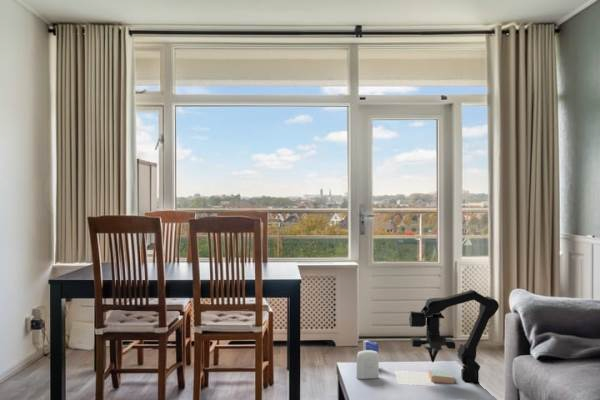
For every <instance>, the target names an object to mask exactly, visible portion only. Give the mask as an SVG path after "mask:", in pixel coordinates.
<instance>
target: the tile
mask: <svg viewBox="0 0 600 400" xmlns="http://www.w3.org/2000/svg"><path fill="white" fill-rule="evenodd" d="M428 372H429V373H428V376H429V378H430V380H431V382H434V383H446V384H447V383H448V384H455V377H454V375H453V374H452V372H450V371H438V370H430V369H429V370H428Z"/></svg>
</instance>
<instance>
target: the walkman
mask: <svg viewBox="0 0 600 400" xmlns="http://www.w3.org/2000/svg"><path fill="white" fill-rule="evenodd" d="M364 350H372V351H376V352H378V353H379V343H377V342H376V341H371V340H363V341H362V351H364Z"/></svg>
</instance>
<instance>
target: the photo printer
mask: <svg viewBox="0 0 600 400" xmlns="http://www.w3.org/2000/svg"><path fill="white" fill-rule="evenodd" d="M379 359H380V357H379V351H378V352H376V351H372V350H364V351H363V350H361V351H358V352H357V354H356V378H357V379H358V380H359V379H360V380H365V379H366V380H368V379H379V370H380V369H379V368H380V366H379V365H380V363H379V361H380V360H379Z"/></svg>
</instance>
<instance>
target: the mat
mask: <svg viewBox="0 0 600 400" xmlns="http://www.w3.org/2000/svg"><path fill="white" fill-rule="evenodd" d="M428 373H429V371H427V372H426V371H406V370H394V374H395V377H396V381H397V385H408V386H409V385H410V386H414V385H415V386H426V387H427V386H429V387H430V386H431V387H436V384H435V382H431V380H430V378H429V376H428Z"/></svg>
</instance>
